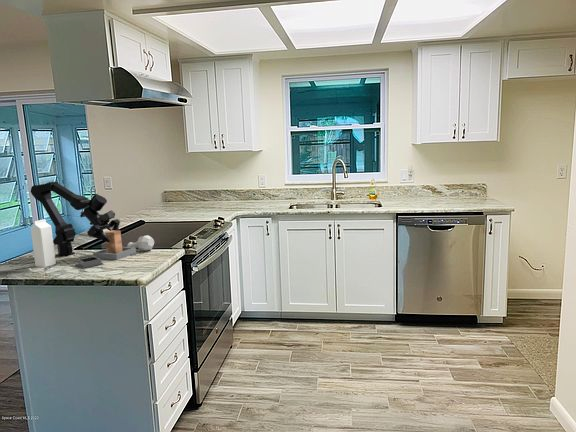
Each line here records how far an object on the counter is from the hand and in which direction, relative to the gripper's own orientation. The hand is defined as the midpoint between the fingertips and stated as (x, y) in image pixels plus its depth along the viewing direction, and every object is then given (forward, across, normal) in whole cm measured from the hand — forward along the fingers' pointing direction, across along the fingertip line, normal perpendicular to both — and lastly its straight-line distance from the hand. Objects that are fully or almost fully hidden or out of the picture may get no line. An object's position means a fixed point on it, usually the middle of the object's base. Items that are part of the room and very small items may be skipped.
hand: (115, 239), depth 213 cm
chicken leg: (+8, +16, +5) cm, 19 cm away
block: (+5, 0, +6) cm, 8 cm away
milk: (-10, -21, +23) cm, 33 cm away
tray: (+6, 0, +7) cm, 9 cm away
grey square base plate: (+5, -17, +8) cm, 19 cm away
